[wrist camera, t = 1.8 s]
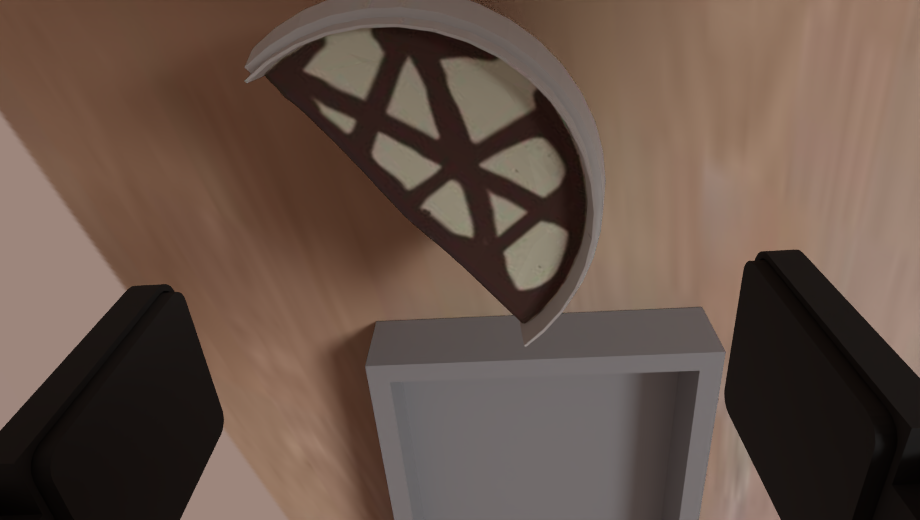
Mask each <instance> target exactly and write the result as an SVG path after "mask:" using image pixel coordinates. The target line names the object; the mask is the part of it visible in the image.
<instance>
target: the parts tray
mask: <svg viewBox="0 0 920 520" xmlns="http://www.w3.org/2000/svg"><path fill="white" fill-rule="evenodd" d="M725 353H726V352H725V350H724V348H723V346H722V344H721V342H720V340H719V338H718V336H717V334H716V333H715V331H714V329H713V327H712V325H711V323H710V321H709V319H708V317H707V315H706V314H705V312H704V310H703V308H702V307H694V308H671V309H648V310H626V311H603V312H581V313H562V314H561V315H560V316H559V317H558V318H557V319H556V320H555V321H554V322H553V323H552V324H551V325H550V327H549V328H548V329H547V330H546V331H545V332H544V333H543V334H541V335H540V336H539V337H538V338H536V339H535V340H534V341H533V342H531V343H530V344H529V345H528V346H526V347H525V346H524V343H523V337H522V332H521V327H520V321H519V320H518V319H517V318H516V317H515V316H514V315H513V316H490V317H468V318H445V319H422V320H400V321H377V322H376V325H375V329H374V333H373V337H372V341H371V345H370V349H369V353H368V357H367V361H366V365H365V368H366V373H367V379H368V384H369V389H370V395H371V400H372V405H373V410H374V416H375V421H376V426H377V431H378V437H379V442H380V447H381V453H382V458H383V463H384V468H385V474H386V479H387V484H388V490H389V495H390V500H391V505H392V511H393V516H394V520H699V515H700V509H701V502H702V496H703V490H704V484H705V477H706V471H707V465H708V459H709V452H710V446H711V440H712V434H713V428H714V421H715V415H716V409H717V403H718V396H719V390H720V384H721V378H722V371H723V365H724V359H725Z"/></svg>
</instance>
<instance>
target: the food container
mask: <svg viewBox="0 0 920 520" xmlns="http://www.w3.org/2000/svg"><path fill="white" fill-rule="evenodd" d="M244 68H246V69H247V70H248V71H249V72H250V73H251V75H250V76H249V77H248V78H247V79H246V80H245V82H246V83H249V82H251V81H253V80H256V79H258V78H260V77H263V76H266V78H267V79H268V80H269V81H270V82H271V83H272V84H273V85H274V86H275V87H277V89H278V90H279V91H280V92H281V93H282V95H283V96H284V97H285V98H286V99H288V100H289V101H291V102H292V103H293V104H295V105H296V106H297V107H298V108H299V109H300V110H302V111H303V112H304V113H305V114H306V115H307V116H308V117H309V118H310V119H311V120H312V121H313V122H314V123H315V124H316V125H317V126H318V127H319V128H320V129H322V130H323V131H324V132H325V133H326V134H327V135H328V136H329V137H330V138H331V139H332V140H333V141H334V142H335V143H336V144H337V145H338V146H339V147H340V148H341V149H342V150H343V151H344V152H345V153H346V154H347V155H348V157H349V158H350V159H351V160H352V161H353V162H354V163H355V164H356V165H357V166H358V167H359V168H360V169H361V170H362V171H363V172H364V173H365V174H366V175H367V176H368V177H369V178H370V180H371V181H372V182H373V183H374V184H375V185H376V186H377V187H378V188H379V189H380V191H381V192H382V193H383V194H384V195H385V196H386V197H387V198H388V199H389V200H390V201H391V202H392V203H393V204H394V205H395V206H396V207H397V208H398V210H399V211H400V212H401V213H402V214H403V215H404V216H405V217H406V218H407V219H408V220H410V221H411V222H412V223H413V224H414V225H415V226H416V227H418V228H419V229H420V230H421V231H422V232H423V233H425V234H426V235H427V236H428V237H429V238H430V239H432V240H433V241H434V242H435V243H437V244H438V245H439V246H440V247H441V248H442V249H444V250H445V251H446V252H447V253H448V254H449V255H450V256H452V257H453V258H454V259H455V260H456V261H457V262H458V263H459V264H461V265H462V266H463V267H464V268H465V269H466V270H467V271H468V272H469V273H470V274H471V275H472V276H473V277H474V278H476V279H477V280H478V281H479V282H480V283H481V284H482V285H483V286H484V287H485V288H486V289H487V290H488V291H489V292H490V293H491V294H492V295H493V296H494V297H495V298H496V299H497V300H498V301H499V302H501V303H502V304H503V305H504V306H505V307H506V308H507V309H508V310H509V311H510V312H511V313H512V314H513V315H514V316H515V317H516V318H517V319H518V320H519V321H520V327H521V332H522V337H523V343H524V346H525V347H526V346H528V345H529V344H530V343H531V342H533V341H534V340H535V339H536V338H538V337H539V336H540V335H541V334H543V333H544V332H545V331H546V330H547V329H548V328H549V327H550V325H551V324H552V323H553V322H554V321H555V320H556V319H557V318H558V317H559V316H560V315H561V314H562V312H563V311H564V309H565V308H566V306H567V305H568V303H569V302H570V300H571V299H572V297H573V296H574V294H575V293H576V291H577V289H578V288H579V286H580V285H581V284H582V282H583V280H584V277H585V275H586V273H587V271H588V269H589V267H590V264H591V262H592V260H593V258H594V254H595V250H596V247H597V243H598V239H599V236H600V232H601V224H602V215H603V205H604V193H605V182H606V180H605V169H604V157H603V149H602V146H601V142H600V138H599V134H598V130H597V127H596V123H595V120H594V118H593V116H592V114H591V111H590V109H589V107H588V105H587V103H586V101H585V98H584V96H583V94H582V92H581V91H580V89H579V88H578V86H577V85H576V83H575V82H574V80H573V79H572V77H571V76H570V75H569V73H568V72H567V70H566V69H565V67H564V66H563V65H562V63H561V62H560V61H559V60H558V59H557V58H556V57H555V56H554V55H553V54H552V53H551V52H550V51H549V50H548V49H547V48H546V47H545V46H544V45H543V44H542V43H541V42H540V41H539V40H538V39H536V38H535V37H534V36H532V35H531V34H530V33H528V32H527V31H525V30H524V29H523V28H521V27H520V26H519V25H517V24H516V23H514V22H513V21H512V20H510V19H508V18H506V17H504V16H502V15H500V14H498V13H496V12H494V11H492V10H490V9H488V8H486V7H484V6H482V5H480V4H478V3H476V2H472V1H469V0H326V1H324V2H322V3H319V4H317V5H314V6H312V7H309V8H307V9H304V10H302V11H301V12H299V13H298V14H296V15H294V16H293V17H291V18H290V19H288V20H287V21H285V22H283V23H282V24H280V25H279V26H277V27H276V28H274V29H273V30H272V31H271V32H270V33H269V34H268V35H267V36H266V37H264V38H263V39H262V40H261V41H260V42H259V43H258V44H257V45H256V46H255V47H254V48H253V49H252V51H251V53H250V56H249V58H248V60H247V62H246V65H245V67H244Z"/></svg>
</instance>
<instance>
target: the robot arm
mask: <svg viewBox="0 0 920 520" xmlns="http://www.w3.org/2000/svg"><path fill="white" fill-rule="evenodd" d="M724 394H725V404H726V408H727V411H728V413H729V415H730V418H731V420H732V422H733V424H734V426H735V428H736V430H737V432H738V434H739V436H740V438H741V440H742V442H743V444H744V446H745V448H746V450H747V452H748V454H749V456H750V458H751V460H752V462H753V464H754V466H755V468H756V470H757V472H758V474H759V476H760V478H761V480H762V482H763V484H764V486H765V488H766V490H767V492H768V494H769V496H770V498H771V501H772V503H773V505H774V507H775V509H776V511H777V513H778V515H779V517H780V519H781V520H920V378H919V377H918V376H917V375H916V374H915V373H914V372H913V370H912V369H911V368H910V367H909V366H908V365H907V364H906V363H905V362H904V361H903V360H902V359H901V358H900V357H899V355H898V354H897V353H896V352H895V351H894V350H893V349H892V348H891V347H890V346H889V345H888V344H887V343H886V342H885V340H884V339H883V338H882V337H881V336H880V335H879V334H878V333H877V332H876V331H875V330H874V329H873V328H872V327H871V325H870V324H869V323H868V322H867V321H866V320H865V319H864V318H863V317H862V316H861V315H860V314H859V313H858V312H857V310H856V309H855V308H854V307H853V306H852V305H851V304H850V303H849V302H848V301H847V300H846V299H845V298H844V297H843V295H842V294H841V293H840V292H839V291H838V290H837V289H836V288H835V287H834V286H833V285H832V284H831V283H830V281H829V280H828V279H827V278H826V277H825V276H824V275H823V274H822V273H821V272H820V271H819V270H818V269H817V268H816V266H815V265H814V264H813V263H812V262H811V261H810V260H809V259H808V258H807V257H806V256H805V255H804V254H803V253H802V252H801V251H800V250H781V251H763V252H760V253H758V255H757V257H756V258H755V261H748V262H747V263H746V264H745V267H744V271H743V277H742V283H741V290H740V296H739V302H738V308H737V315H736V321H735V327H734V334H733V340H732V346H731V353H730V359H729V365H728V372H727V378H726V384H725V393H724ZM223 423H224V417H223V411H222V408H221V405H220V402H219V399H218V396H217V393H216V390H215V387H214V384H213V381H212V378H211V375H210V372H209V369H208V366H207V363H206V360H205V357H204V354H203V351H202V348H201V345H200V342H199V339H198V336H197V333H196V330H195V327H194V324H193V321H192V318H191V315H190V312H189V309H188V306H187V303H186V300H185V298H184V296H183V295H182V294H181V293H180V292H174V290H173V289H172V287H171V286H169V285H167V284H161V285H143V286H132V287H130V288H129V289H128V290H127V291H126V292H125V293H124V294H123V295H122V296H121V297H120V299H119V300H118V301H117V302H116V303H115V304H114V305H113V306H112V307H111V309H110V310H109V311H108V312H107V313H106V314H105V315H104V316H103V318H102V319H101V320H100V321H99V322H98V323H97V324H96V325H95V326H94V328H92V330H91V331H90V332H89V333H88V334H87V335H86V336H85V337H84V338H83V340H82V341H81V342H80V343H79V344H78V345H77V346H76V347H75V348H74V350H73V351H72V352H71V353H70V354H69V355H68V356H67V357H66V358H65V360H64V361H63V362H62V363H61V364H60V365H59V366H58V368H56V370H55V371H54V372H53V373H52V374H51V375H50V376H49V377H48V378H47V380H46V381H45V382H44V383H43V384H42V385H41V386H40V387H39V388H38V390H37V391H36V392H35V393H34V394H33V395H32V396H31V397H30V399H28V401H27V402H26V403H25V404H24V405H23V406H22V407H21V408H20V410H19V411H18V412H17V413H16V414H15V415H14V416H13V417H12V418H11V420H10V421H9V422H8V423H7V424H6V425H5V426H4V427H3V428H2V429H1V431H0V520H180V518H181V516H182V514H183V512H184V510H185V508H186V506H187V504H188V502H189V500H190V498H191V496H192V493H193V491H194V489H195V487H196V485H197V483H198V481H199V479H200V477H201V475H202V473H203V470H204V468H205V466H206V464H207V462H208V460H209V458H210V456H211V454H212V452H213V450H214V447H215V446H216V443H217V441H218V439H219V437H220V435H221V432H222V430H223Z"/></svg>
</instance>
